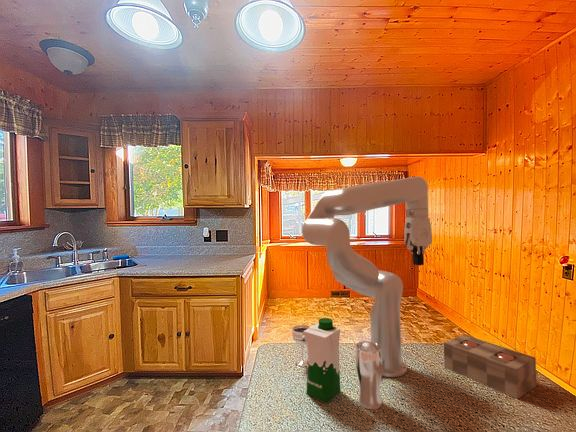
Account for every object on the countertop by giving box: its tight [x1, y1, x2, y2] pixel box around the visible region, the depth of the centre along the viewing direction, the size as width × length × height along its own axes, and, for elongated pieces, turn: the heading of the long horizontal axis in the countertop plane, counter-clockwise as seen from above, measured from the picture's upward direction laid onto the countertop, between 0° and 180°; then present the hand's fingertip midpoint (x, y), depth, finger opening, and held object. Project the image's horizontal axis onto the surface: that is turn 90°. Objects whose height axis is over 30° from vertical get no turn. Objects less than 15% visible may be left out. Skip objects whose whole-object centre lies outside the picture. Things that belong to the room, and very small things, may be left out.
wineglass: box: [291, 324, 310, 366], centre depth 99 cm, size 7×7×12 cm
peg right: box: [497, 353, 514, 361], centre depth 84 cm, size 4×4×8 cm
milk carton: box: [303, 317, 341, 404], centre depth 82 cm, size 9×9×20 cm
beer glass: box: [354, 340, 383, 410], centre depth 77 cm, size 7×7×15 cm
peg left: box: [463, 341, 477, 348], centre depth 93 cm, size 4×4×8 cm
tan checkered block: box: [443, 334, 537, 400], centre depth 89 cm, size 12×20×8 cm, turn 30°
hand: (418, 264), depth 104 cm, fingers closed
